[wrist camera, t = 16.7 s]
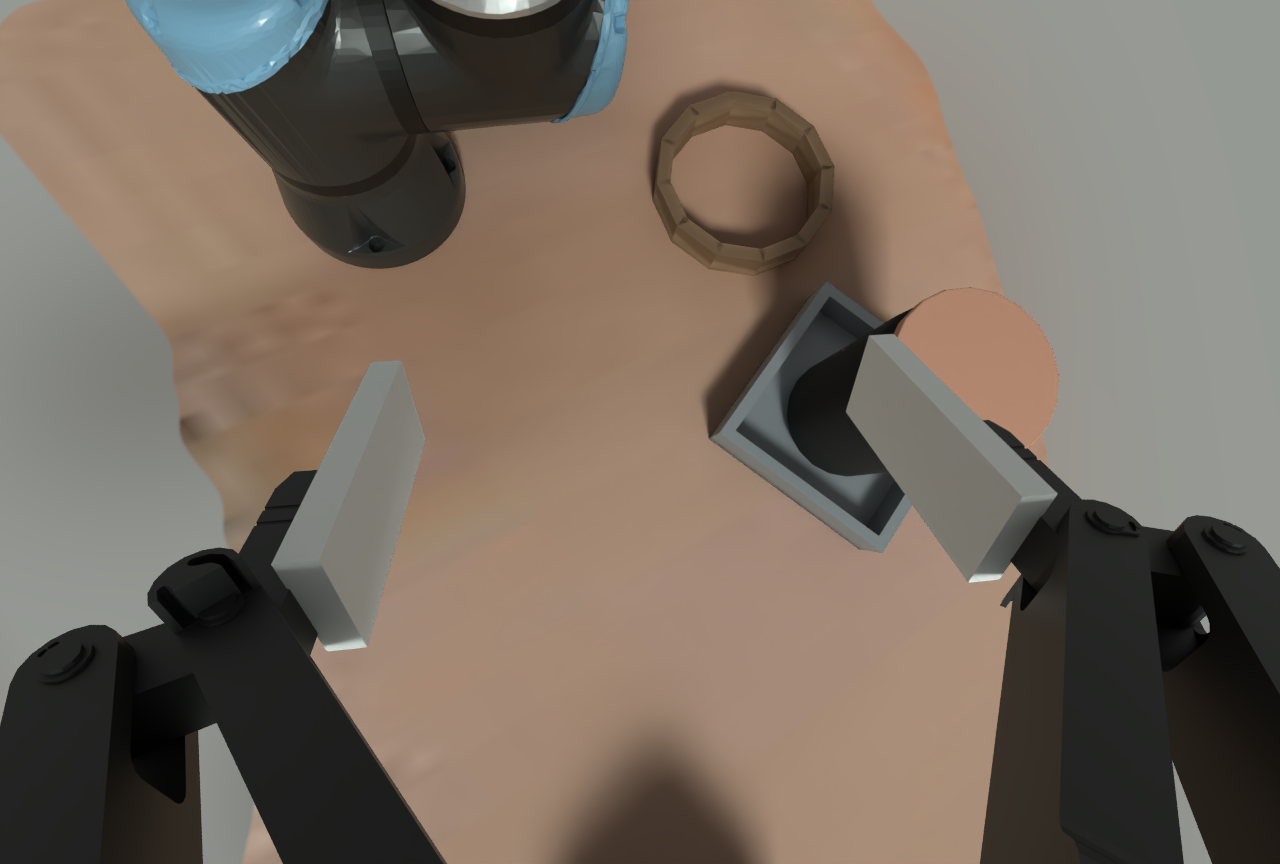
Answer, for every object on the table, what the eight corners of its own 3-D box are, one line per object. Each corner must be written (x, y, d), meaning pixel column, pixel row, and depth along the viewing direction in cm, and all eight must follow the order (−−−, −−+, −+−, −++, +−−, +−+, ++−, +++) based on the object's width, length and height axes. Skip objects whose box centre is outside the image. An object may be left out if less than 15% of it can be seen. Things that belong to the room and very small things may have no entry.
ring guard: (620, 204, 52) (623, 186, 49) (717, 84, 54) (725, 60, 51) (759, 306, 52) (770, 294, 49) (849, 182, 54) (865, 163, 51)
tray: (708, 438, 50) (719, 432, 46) (808, 297, 52) (826, 280, 48) (859, 549, 50) (882, 553, 46) (950, 402, 52) (980, 394, 48)
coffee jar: (905, 384, 51) (1075, 321, 33) (876, 493, 49) (1040, 487, 32) (799, 346, 50) (916, 261, 33) (767, 454, 49) (871, 426, 31)
